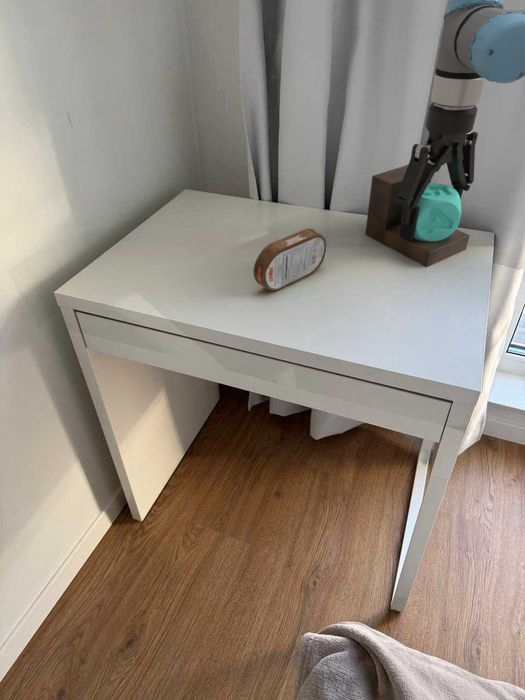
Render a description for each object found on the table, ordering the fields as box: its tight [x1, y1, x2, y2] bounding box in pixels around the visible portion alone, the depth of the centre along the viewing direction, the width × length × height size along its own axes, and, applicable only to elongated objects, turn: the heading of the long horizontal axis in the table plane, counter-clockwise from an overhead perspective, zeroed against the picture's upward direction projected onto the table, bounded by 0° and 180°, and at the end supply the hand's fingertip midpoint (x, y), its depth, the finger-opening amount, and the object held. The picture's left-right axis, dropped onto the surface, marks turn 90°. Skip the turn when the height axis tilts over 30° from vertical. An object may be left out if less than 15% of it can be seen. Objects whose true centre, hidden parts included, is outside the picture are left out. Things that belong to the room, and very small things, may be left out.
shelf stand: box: [364, 163, 470, 268], centre depth 94 cm, size 16×11×12 cm
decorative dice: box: [412, 182, 462, 242], centre depth 92 cm, size 8×8×8 cm
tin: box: [253, 227, 327, 292], centre depth 85 cm, size 15×3×8 cm, turn 130°
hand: (427, 230), depth 94 cm, fingers closed on decorative dice, 11 cm apart
